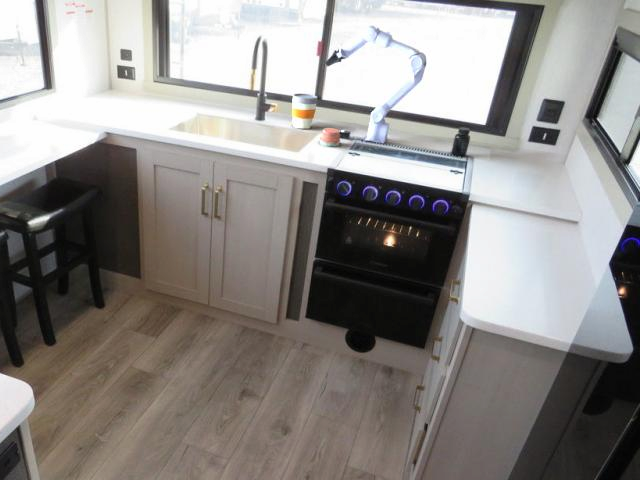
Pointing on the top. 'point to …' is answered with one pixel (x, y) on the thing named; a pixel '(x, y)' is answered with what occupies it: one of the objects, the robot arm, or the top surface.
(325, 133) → the cup stack
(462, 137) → the supplement bottle
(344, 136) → the binder clip
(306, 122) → the reusable coffee cup
